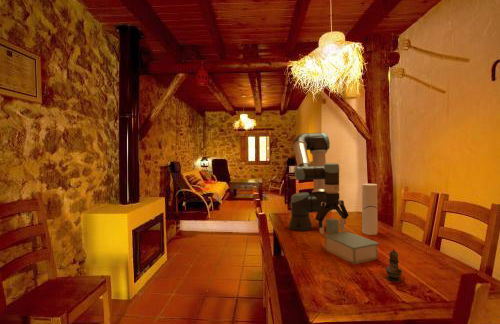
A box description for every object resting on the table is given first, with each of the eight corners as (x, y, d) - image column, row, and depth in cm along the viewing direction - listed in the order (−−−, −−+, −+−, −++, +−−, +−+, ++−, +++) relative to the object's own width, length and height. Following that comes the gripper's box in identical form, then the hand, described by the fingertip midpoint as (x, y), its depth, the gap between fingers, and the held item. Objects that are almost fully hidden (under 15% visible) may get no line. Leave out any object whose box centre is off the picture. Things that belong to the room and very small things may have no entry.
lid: (317, 236, 144) (317, 220, 143) (340, 232, 149) (340, 217, 149) (353, 252, 120) (353, 233, 119) (378, 247, 125) (378, 229, 125)
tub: (325, 250, 139) (325, 236, 139) (346, 245, 144) (346, 233, 144) (354, 264, 120) (353, 249, 120) (377, 259, 126) (377, 244, 126)
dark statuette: (382, 276, 109) (382, 246, 109) (396, 275, 110) (396, 246, 109) (391, 283, 103) (391, 252, 103) (405, 282, 104) (405, 251, 103)
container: (379, 235, 161) (378, 185, 160) (363, 234, 163) (363, 185, 162) (375, 231, 170) (375, 183, 169) (361, 230, 172) (360, 183, 170)
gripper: (316, 195, 135) (317, 236, 136) (355, 191, 145) (355, 230, 145) (308, 193, 142) (308, 233, 143) (345, 189, 152) (345, 227, 152)
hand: (332, 231), depth 144 cm, fingers open, 13 cm apart
